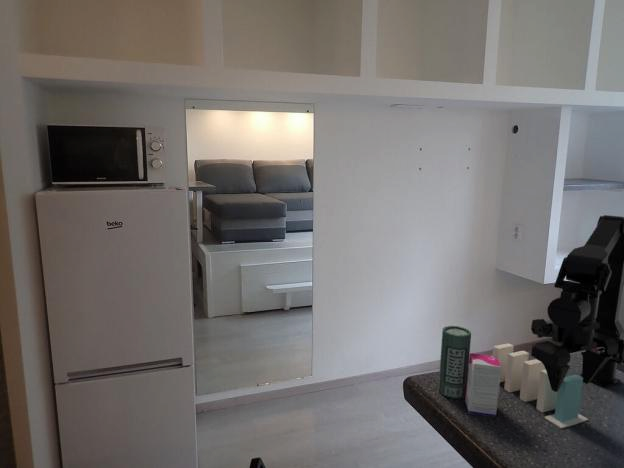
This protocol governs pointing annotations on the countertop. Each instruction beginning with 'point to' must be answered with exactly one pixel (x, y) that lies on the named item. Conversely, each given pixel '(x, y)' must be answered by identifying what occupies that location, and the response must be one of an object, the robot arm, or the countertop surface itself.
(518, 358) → the domino
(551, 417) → the pad
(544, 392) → the domino
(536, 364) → the domino
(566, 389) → the end domino
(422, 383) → the countertop surface
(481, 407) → the supplement box
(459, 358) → the can
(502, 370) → the domino
